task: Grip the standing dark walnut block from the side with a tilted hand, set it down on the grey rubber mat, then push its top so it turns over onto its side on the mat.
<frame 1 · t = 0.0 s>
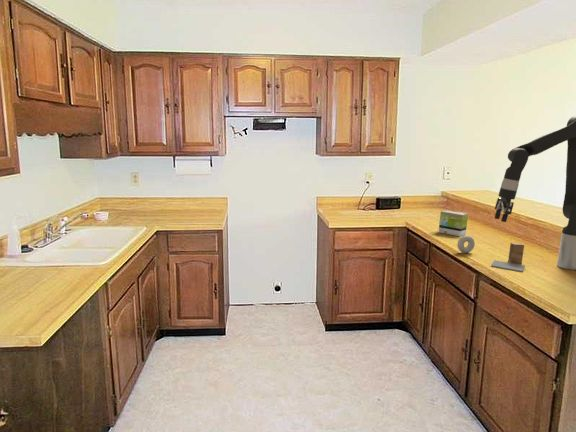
hand: (500, 220, 218), 22 cm above the worktop, tool pointing down, fingers open, 8 cm apart
donut: (464, 253, 240), on the worktop
walnut block: (514, 262, 224), on the worktop
tea box: (451, 234, 290), on the worktop
rubber mat: (507, 266, 216), on the worktop
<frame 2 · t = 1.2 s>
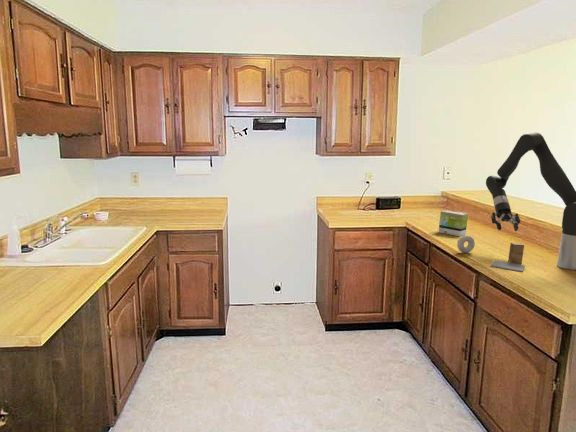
hand: (508, 230, 233), 15 cm above the worktop, tool tilted 45°, fingers open, 8 cm apart
nothing on the worktop moved.
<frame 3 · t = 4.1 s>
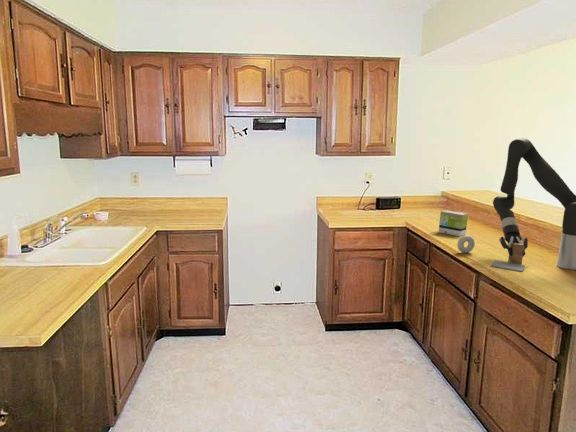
hand: (517, 255, 221), 4 cm above the worktop, tool tilted 45°, fingers closed on walnut block, 5 cm apart
walnut block: (514, 262, 224), on the worktop, touching gripper
everything else where it was.
when the fingers open (6 cm above the worktop, at t = 9.1 s): walnut block stays where it is and tips over, resting on rubber mat.
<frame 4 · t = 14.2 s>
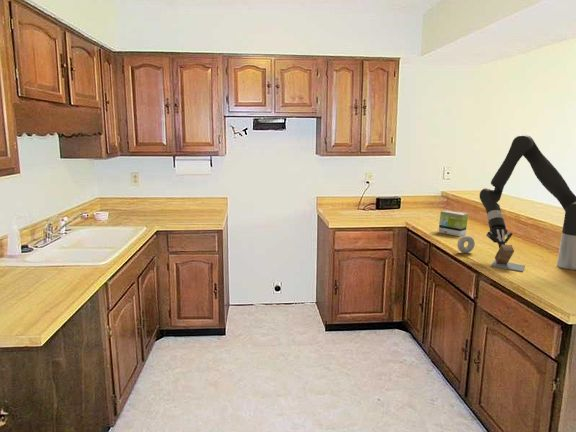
hand: (502, 249, 218), 8 cm above the worktop, tool tilted 45°, fingers closed
walnut block: (500, 260, 220), point 2 cm above the worktop, tilted 35°, touching rubber mat
everything else where it was.
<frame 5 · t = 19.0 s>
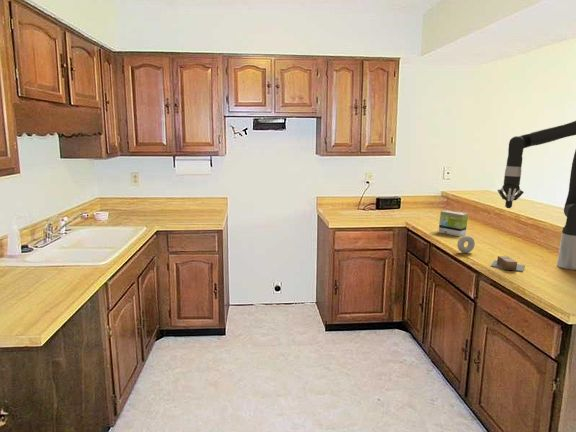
hand: (508, 207, 229), 27 cm above the worktop, tool pointing down, fingers closed
walnut block: (502, 260, 218), point 3 cm above the worktop, tilted 90°, touching rubber mat
everything else where it was.
at the end: walnut block tilted 90°; walnut block inside the target area on the rubber mat (3.0 cm from its centre), point 2.6 cm above the rubber mat's base; the gripper is holding nothing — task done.
